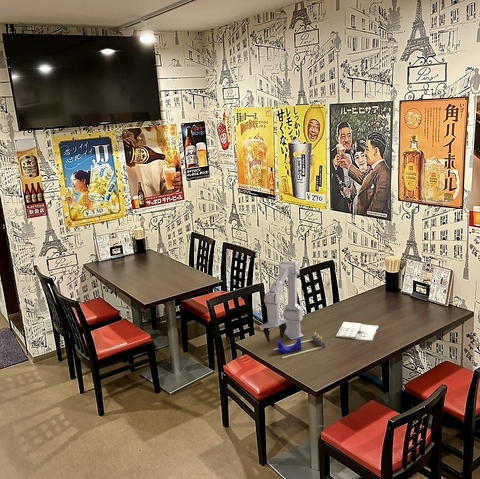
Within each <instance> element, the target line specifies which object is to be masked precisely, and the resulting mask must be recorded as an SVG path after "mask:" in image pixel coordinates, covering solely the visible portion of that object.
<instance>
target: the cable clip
mask: <svg viewBox="0 0 480 479" xmlns="http://www.w3.org/2000/svg"><path fill="white" fill-rule="evenodd" d="M301 342H302V339H301V337H300V338H296V342H295V343H293V344H294V345H293V346H290V347H287V345H284V344H283V343H282V341H281V339H277V342H276V343H277V348H278V350H277V351H278V355H283V354H291V352H298V351H300V352H301V351H302V344H301Z"/></svg>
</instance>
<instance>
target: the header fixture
mask: <svg viewBox="0 0 480 479" xmlns="http://www.w3.org/2000/svg"><path fill="white" fill-rule="evenodd" d="M322 338H323V337H322V336H320V335H319V334H317V332H314V333H313V334H312V335H311V339H306V340H303V341H302V340H301V345H302V344H305V343H310V342H314V343H315V344H317V345H318V347H314V348H311V349H306V350H304V351H300V352H296V353H292V354H288V355H285V356H281V359H282V360H285V359H288V358H291V357H295V356H298V355H302V354H305V353H310V352H313V351H316V350H320V349H324V348H326V346H325V344H326V343H325V341H324V340H323V339H322ZM294 344H295V343H292V344H288V345H286V346H287V347H290V346H293V345H294ZM273 351H275V352H276V351H278V347H277V348H274V349H273Z"/></svg>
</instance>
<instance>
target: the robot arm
mask: <svg viewBox="0 0 480 479" xmlns="http://www.w3.org/2000/svg"><path fill="white" fill-rule="evenodd" d="M299 275H300V263H299V262H298V260H297V261H292V260H283V259H282V260H280V262H279V263H278V275H277V278H276V280H274V281H273V282H272V283H271V286H270V287H269V288H270V289H269V290H268V291H267V292H266V293H265V294H264V298H263V302H264V304H265V307H266V311H267V322H265V323H264V324H260V325H259V329H260V331H262V333H263V334H264V335H265V339H266V342H268V343H270V339H271V338H270V333H271V332H270V330H269V329H271V328H279V337H280V338H281V339H284V336H286V337H288V338H289V339H290V340H295V339H296V340H297V338H300V339H301V338H303V337H305V335H304V334H303V333H302V332H301V321H302V320H303V319H304V312H303V308H302V306H301V305H300V304H298V276H299ZM286 279H287V304H286V305H285V306H283V313H282V316H283V319H280V314H279V313H280V311H279V303H280V299H281V293H282V291H283V289H284V282H285V280H286Z"/></svg>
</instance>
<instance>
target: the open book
mask: <svg viewBox="0 0 480 479" xmlns="http://www.w3.org/2000/svg"><path fill="white" fill-rule="evenodd" d="M379 328H380V327H379V325H371V324H370V325H369V324H362V323H360V322H359V323H358V322H348V321H343V323H342V324H341V326H340V327H339V330H338V331H337V333H336V335H335V337H336V338H343V339H352V340H361V341H368V342H369V341H371V342H373V340H374V337H375V334H376V332H377V331H378V329H379ZM376 330H377V331H376ZM359 332H360V333H359Z"/></svg>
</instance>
